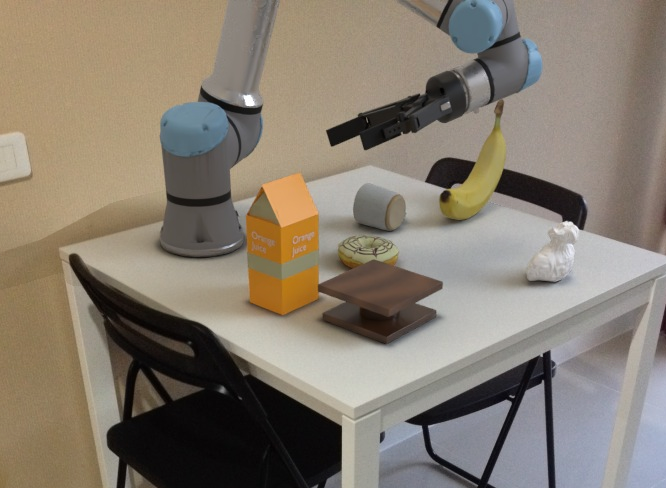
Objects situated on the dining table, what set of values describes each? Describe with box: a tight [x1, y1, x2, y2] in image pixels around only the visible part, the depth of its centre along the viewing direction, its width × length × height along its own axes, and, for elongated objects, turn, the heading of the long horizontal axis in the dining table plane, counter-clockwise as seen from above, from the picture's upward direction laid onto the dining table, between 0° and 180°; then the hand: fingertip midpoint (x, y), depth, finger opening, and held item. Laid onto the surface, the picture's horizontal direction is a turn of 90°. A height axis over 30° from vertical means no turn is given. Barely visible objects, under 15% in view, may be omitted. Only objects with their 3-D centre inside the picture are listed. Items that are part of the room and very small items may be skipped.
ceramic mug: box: [352, 182, 407, 232], centre depth 188 cm, size 11×8×8 cm
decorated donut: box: [337, 234, 400, 269], centre depth 174 cm, size 10×11×4 cm
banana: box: [438, 98, 507, 221], centre depth 191 cm, size 23×6×20 cm, turn 146°
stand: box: [318, 259, 444, 345], centre depth 154 cm, size 14×14×6 cm
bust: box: [526, 220, 580, 283], centre depth 168 cm, size 12×8×11 cm
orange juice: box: [245, 171, 320, 316], centre depth 155 cm, size 8×9×20 cm
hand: (344, 140), depth 157 cm, fingers open, 13 cm apart
